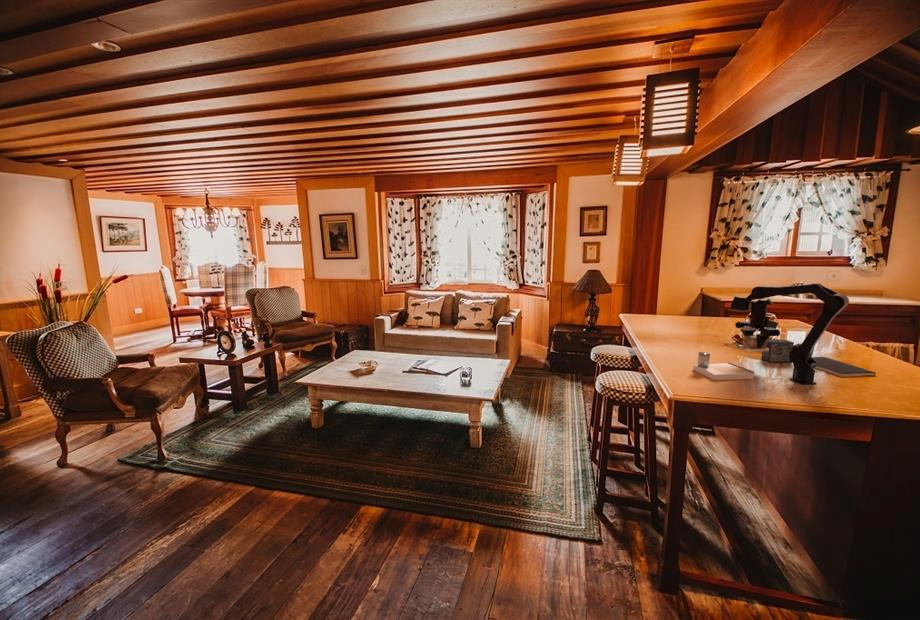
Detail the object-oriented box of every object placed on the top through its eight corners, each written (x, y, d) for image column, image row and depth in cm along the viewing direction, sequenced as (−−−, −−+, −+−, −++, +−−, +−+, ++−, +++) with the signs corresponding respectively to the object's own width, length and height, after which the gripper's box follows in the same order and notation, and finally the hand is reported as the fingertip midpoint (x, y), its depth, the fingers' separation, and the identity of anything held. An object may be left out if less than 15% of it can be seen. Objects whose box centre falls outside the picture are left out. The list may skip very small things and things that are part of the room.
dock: (754, 378, 169) (755, 371, 168) (714, 380, 168) (715, 373, 167) (730, 368, 182) (730, 362, 182) (693, 369, 181) (693, 363, 181)
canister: (711, 367, 176) (712, 354, 175) (701, 368, 176) (703, 354, 175) (704, 364, 180) (705, 351, 179) (694, 365, 180) (696, 352, 179)
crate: (768, 351, 175) (770, 338, 173) (750, 352, 174) (751, 338, 173) (757, 347, 180) (759, 335, 179) (739, 348, 180) (741, 335, 179)
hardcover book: (840, 378, 169) (841, 373, 169) (793, 362, 192) (794, 357, 191) (875, 377, 170) (876, 372, 169) (824, 361, 192) (825, 356, 192)
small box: (782, 359, 195) (785, 339, 193) (792, 363, 189) (795, 342, 187) (760, 358, 196) (762, 338, 194) (769, 362, 190) (771, 342, 188)
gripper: (794, 316, 166) (789, 351, 168) (758, 309, 184) (754, 341, 187) (769, 317, 165) (765, 352, 168) (736, 310, 183) (732, 341, 186)
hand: (754, 346), depth 177 cm, fingers closed on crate, 5 cm apart
